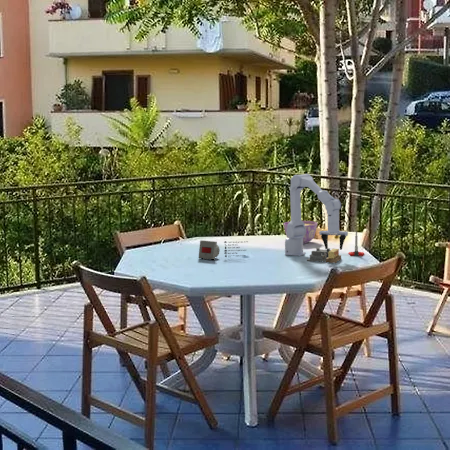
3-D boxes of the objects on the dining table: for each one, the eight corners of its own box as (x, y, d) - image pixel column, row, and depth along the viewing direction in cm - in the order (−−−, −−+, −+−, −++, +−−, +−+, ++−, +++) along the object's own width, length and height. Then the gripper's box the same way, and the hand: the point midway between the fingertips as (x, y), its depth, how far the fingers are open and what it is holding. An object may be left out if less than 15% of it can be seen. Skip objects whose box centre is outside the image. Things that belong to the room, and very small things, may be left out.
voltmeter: (198, 261, 420) (197, 242, 418) (198, 257, 431) (198, 239, 429) (248, 259, 420) (248, 241, 418) (247, 255, 431) (247, 237, 430)
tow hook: (348, 253, 432) (348, 256, 423) (348, 230, 430) (348, 232, 421) (364, 253, 430) (364, 256, 421) (364, 230, 429) (364, 232, 420)
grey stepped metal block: (307, 261, 412) (306, 251, 411) (316, 255, 427) (316, 245, 427) (325, 262, 408) (325, 252, 407) (334, 256, 424) (334, 246, 423)
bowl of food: (319, 245, 457) (319, 225, 456) (284, 246, 458) (284, 226, 456) (315, 239, 477) (315, 220, 476) (282, 240, 478) (282, 221, 476)
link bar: (328, 258, 407) (328, 251, 407) (333, 255, 415) (333, 248, 415) (334, 258, 406) (334, 251, 406) (338, 255, 414) (338, 248, 414)
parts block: (326, 262, 407) (326, 258, 407) (331, 258, 417) (331, 254, 417) (335, 262, 405) (335, 259, 405) (341, 258, 415) (341, 255, 415)
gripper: (317, 223, 407) (317, 249, 409) (345, 224, 402) (345, 251, 404) (321, 221, 414) (321, 247, 416) (348, 222, 408) (348, 248, 410)
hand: (333, 249), depth 410 cm, fingers open, 7 cm apart
